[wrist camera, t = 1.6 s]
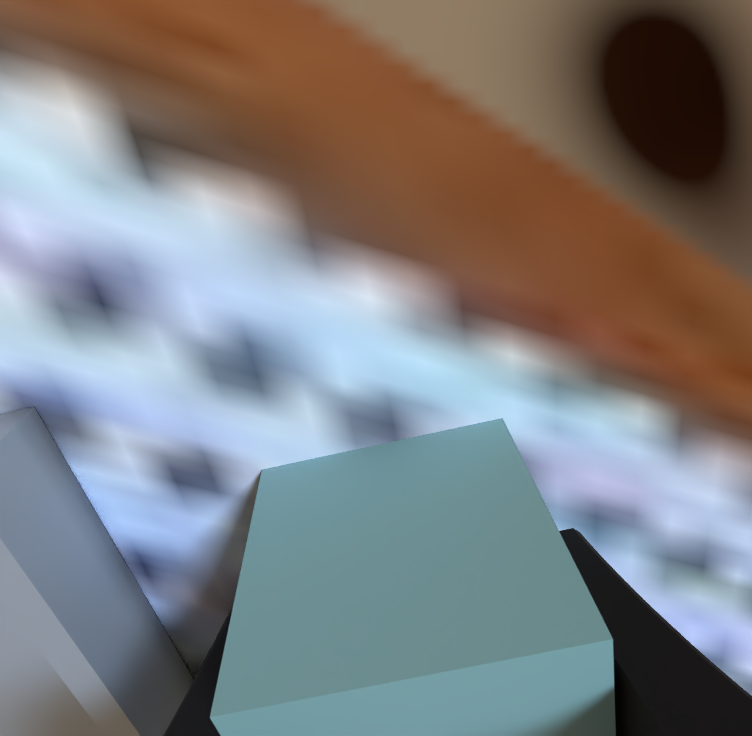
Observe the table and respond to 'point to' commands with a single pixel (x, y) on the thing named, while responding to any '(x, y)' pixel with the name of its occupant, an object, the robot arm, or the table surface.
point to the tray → (72, 607)
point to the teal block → (412, 601)
